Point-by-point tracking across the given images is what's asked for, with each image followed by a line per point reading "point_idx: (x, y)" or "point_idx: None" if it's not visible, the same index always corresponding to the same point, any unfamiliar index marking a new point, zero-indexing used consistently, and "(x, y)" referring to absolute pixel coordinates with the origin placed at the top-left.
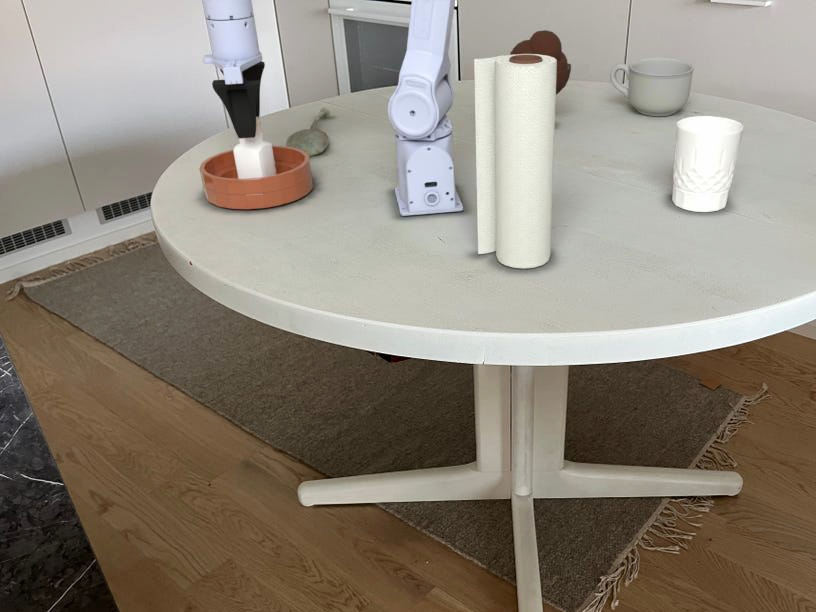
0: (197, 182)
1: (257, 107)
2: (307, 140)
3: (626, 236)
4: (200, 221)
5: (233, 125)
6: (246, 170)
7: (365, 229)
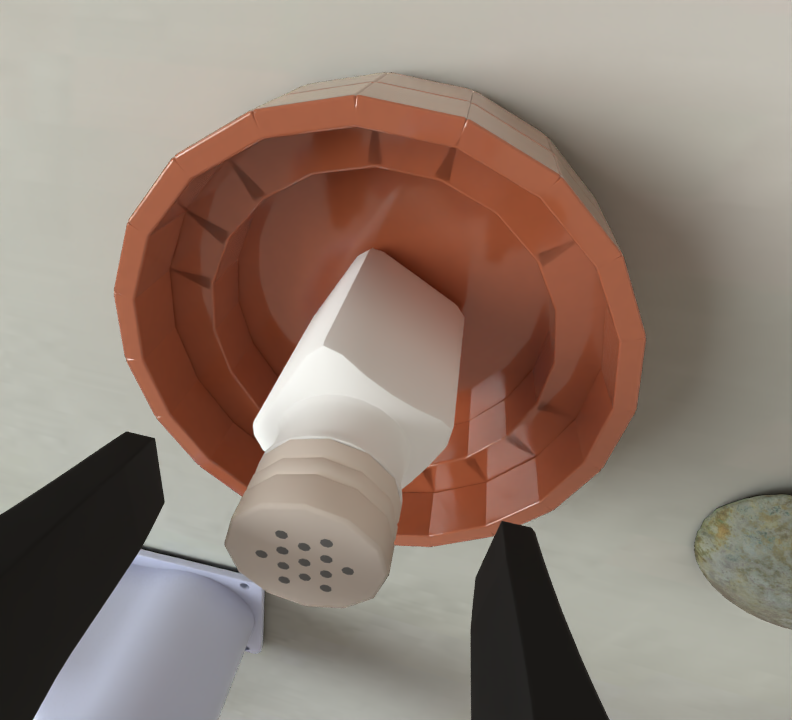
0: (698, 39)
1: (474, 664)
2: (768, 575)
3: None
4: (104, 18)
5: (52, 482)
6: (314, 326)
7: (33, 466)
